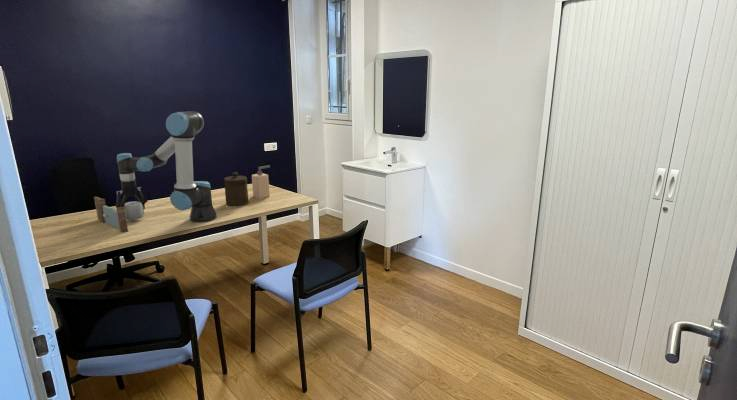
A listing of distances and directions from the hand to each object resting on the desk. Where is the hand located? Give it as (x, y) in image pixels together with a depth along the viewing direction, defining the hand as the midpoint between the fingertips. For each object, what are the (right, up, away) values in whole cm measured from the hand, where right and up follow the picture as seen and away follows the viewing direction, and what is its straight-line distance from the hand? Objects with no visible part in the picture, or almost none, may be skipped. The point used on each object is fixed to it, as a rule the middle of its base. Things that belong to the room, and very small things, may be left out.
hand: (134, 216), depth 240 cm
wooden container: (+50, +7, +37) cm, 62 cm away
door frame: (-8, -5, -8) cm, 12 cm away
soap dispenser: (+63, +13, +56) cm, 85 cm away
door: (-6, -5, -11) cm, 13 cm away
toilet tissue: (-1, -1, 0) cm, 1 cm away
